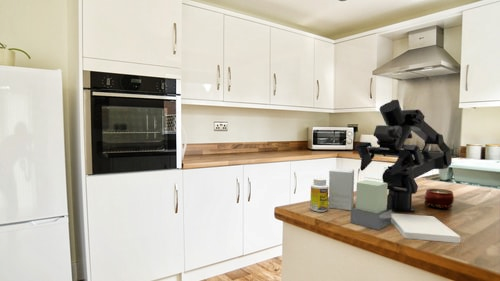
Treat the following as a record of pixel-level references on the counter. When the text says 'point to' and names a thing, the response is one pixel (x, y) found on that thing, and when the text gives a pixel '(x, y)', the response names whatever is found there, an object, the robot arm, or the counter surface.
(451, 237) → the cutting board
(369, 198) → the pale green block
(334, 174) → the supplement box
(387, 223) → the dark grey block
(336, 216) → the counter surface
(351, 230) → the counter surface
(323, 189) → the supplement bottle
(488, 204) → the counter surface
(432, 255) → the counter surface
